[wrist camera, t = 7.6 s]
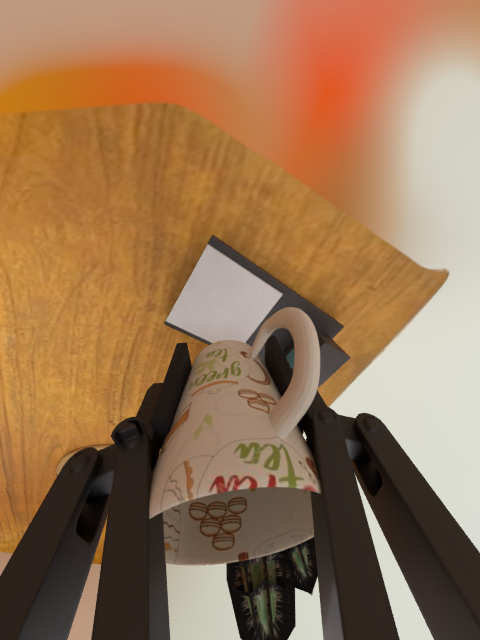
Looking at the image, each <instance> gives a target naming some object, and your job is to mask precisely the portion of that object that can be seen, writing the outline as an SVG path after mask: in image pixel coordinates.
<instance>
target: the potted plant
mask: <svg viewBox="0 0 480 640" xmlns="http://www.w3.org/2000/svg"><path fill="white" fill-rule="evenodd" d="M317 577H318V571H317V560H316V549H315V538H314V537H312V538H310V539H309V540H307V541H305V542H303V543H300V544H298V545H296V546H293V547H291V548H288V549H285V550H283V551H280V552H276V553H273V554H270V555H266V556H262V557H258V558H254V559H249V560H244V561H238V562H232V563H227V582H228V587H229V591H230V596H231V600H232V604H233V608H234V613H235V617H236V621H237V626H238V630H239V634H240V638H241V639H242V640H287V639H288V638H289V636H290V634H291V632H292V631H293V629H294V627H295V588H297V589H300V590H303V591H306V592H308V593H309V594H311V593H312V592H313V588H314V585H315V582H316V579H317Z"/></svg>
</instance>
